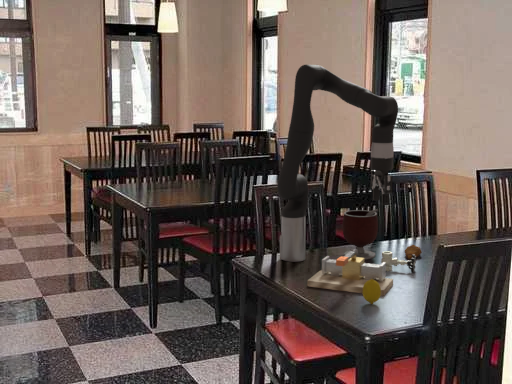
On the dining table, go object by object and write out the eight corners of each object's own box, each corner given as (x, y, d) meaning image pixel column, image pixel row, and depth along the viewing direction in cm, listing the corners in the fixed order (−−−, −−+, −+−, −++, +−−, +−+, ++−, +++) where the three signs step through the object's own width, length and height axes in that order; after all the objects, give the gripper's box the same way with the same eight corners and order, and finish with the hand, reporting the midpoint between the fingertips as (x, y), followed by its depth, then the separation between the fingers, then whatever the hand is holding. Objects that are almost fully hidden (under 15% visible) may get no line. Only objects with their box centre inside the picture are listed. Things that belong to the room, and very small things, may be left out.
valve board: (307, 286, 212) (307, 280, 212) (320, 275, 224) (320, 270, 223) (383, 296, 201) (383, 290, 201) (393, 284, 213) (393, 278, 213)
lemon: (360, 301, 197) (360, 276, 195) (377, 300, 197) (378, 276, 196) (364, 307, 191) (365, 282, 190) (382, 306, 192) (383, 281, 190)
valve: (379, 271, 228) (413, 275, 224) (379, 254, 227) (413, 257, 223) (382, 267, 234) (415, 270, 230) (383, 249, 233) (416, 252, 229)
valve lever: (351, 252, 216) (351, 247, 215) (358, 253, 215) (358, 248, 214) (335, 265, 201) (336, 260, 200) (343, 266, 200) (343, 260, 199)
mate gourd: (334, 255, 251) (335, 205, 248) (357, 249, 260) (358, 201, 257) (365, 262, 240) (366, 211, 236) (387, 256, 248) (389, 206, 245)
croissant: (418, 262, 241) (419, 249, 240) (400, 260, 243) (401, 247, 243) (424, 253, 253) (424, 241, 252) (407, 252, 256) (407, 240, 255)
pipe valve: (321, 275, 217) (321, 253, 216) (327, 271, 222) (327, 249, 221) (381, 283, 208) (382, 259, 207) (385, 278, 214) (386, 255, 212)
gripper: (364, 153, 220) (363, 199, 223) (379, 158, 206) (377, 207, 209) (384, 153, 221) (383, 198, 224) (400, 157, 207) (399, 206, 210)
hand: (380, 202), depth 216 cm, fingers open, 8 cm apart
